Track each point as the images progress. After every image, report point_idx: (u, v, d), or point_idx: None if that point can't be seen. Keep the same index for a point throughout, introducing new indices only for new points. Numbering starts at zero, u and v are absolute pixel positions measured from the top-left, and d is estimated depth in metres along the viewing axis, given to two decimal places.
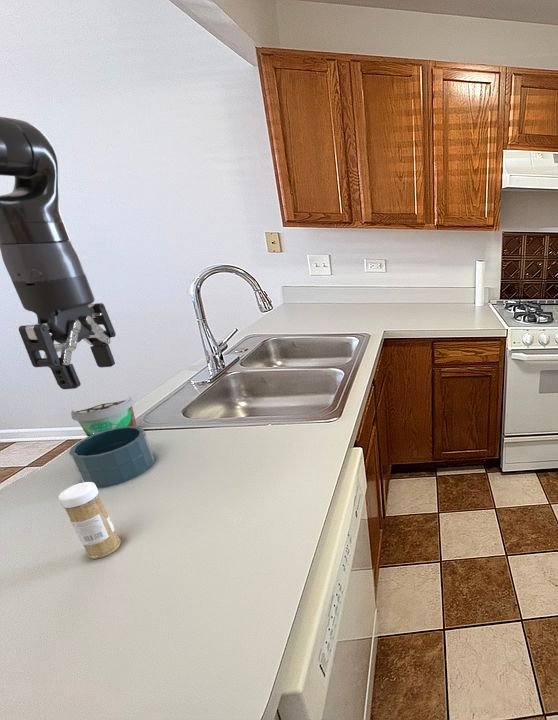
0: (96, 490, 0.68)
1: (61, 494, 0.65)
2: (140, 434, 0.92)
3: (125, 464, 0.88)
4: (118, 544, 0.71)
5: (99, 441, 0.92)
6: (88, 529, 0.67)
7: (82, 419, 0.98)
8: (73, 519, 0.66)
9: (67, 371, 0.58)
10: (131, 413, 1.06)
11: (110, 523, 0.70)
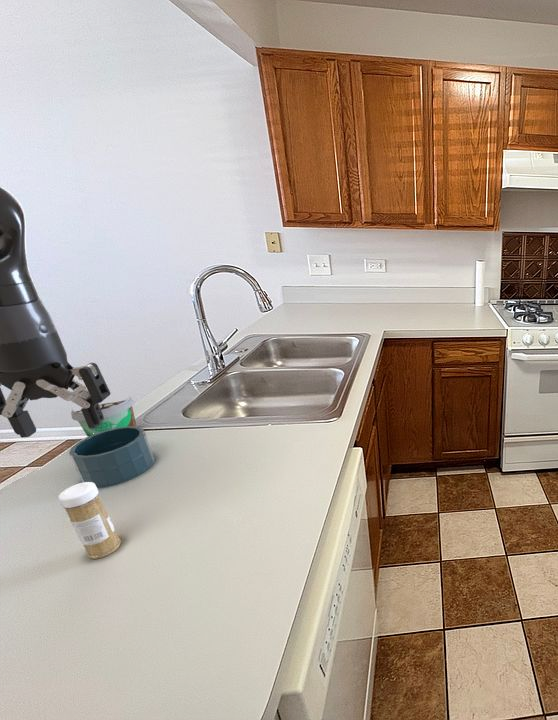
0: (96, 490, 0.68)
1: (61, 494, 0.65)
2: (140, 434, 0.92)
3: (125, 464, 0.88)
4: (118, 544, 0.71)
5: (99, 441, 0.92)
6: (88, 529, 0.67)
7: (82, 419, 0.98)
8: (73, 519, 0.66)
9: None
10: (131, 413, 1.06)
11: (110, 523, 0.70)
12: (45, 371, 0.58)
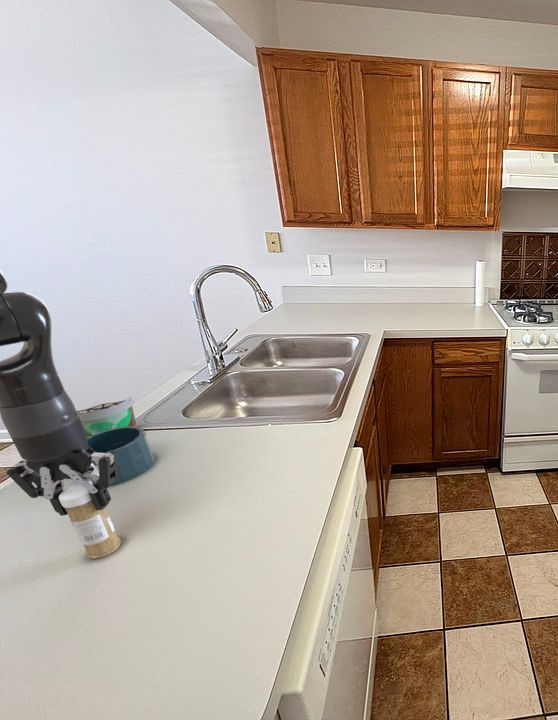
0: None
1: (61, 494, 0.65)
2: (140, 434, 0.92)
3: (125, 464, 0.88)
4: (118, 544, 0.71)
5: (99, 441, 0.92)
6: (88, 529, 0.67)
7: (82, 419, 0.98)
8: (73, 519, 0.66)
9: None
10: (131, 413, 1.06)
11: (110, 523, 0.70)
12: (67, 456, 0.63)
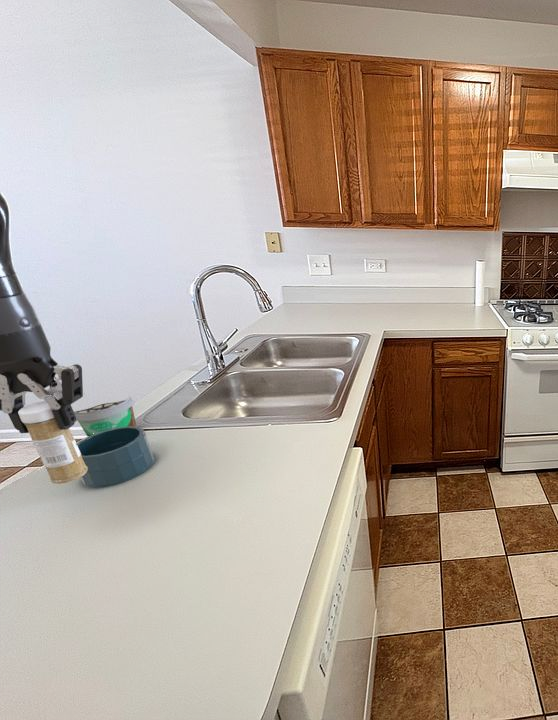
0: None
1: (21, 409, 0.61)
2: (140, 434, 0.92)
3: (125, 464, 0.88)
4: (84, 471, 0.67)
5: (99, 441, 0.92)
6: (50, 450, 0.63)
7: (82, 419, 0.98)
8: (34, 437, 0.61)
9: None
10: (131, 413, 1.06)
11: (76, 447, 0.66)
12: (27, 365, 0.58)
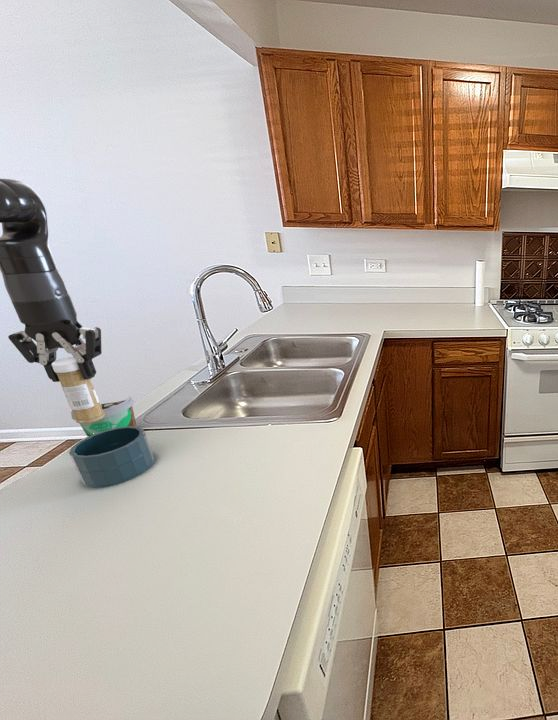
0: None
1: (54, 362, 0.77)
2: (140, 434, 0.92)
3: (125, 464, 0.88)
4: (102, 415, 0.83)
5: (99, 441, 0.92)
6: (76, 395, 0.79)
7: None
8: (64, 384, 0.78)
9: None
10: (131, 413, 1.06)
11: (95, 395, 0.82)
12: (59, 326, 0.75)
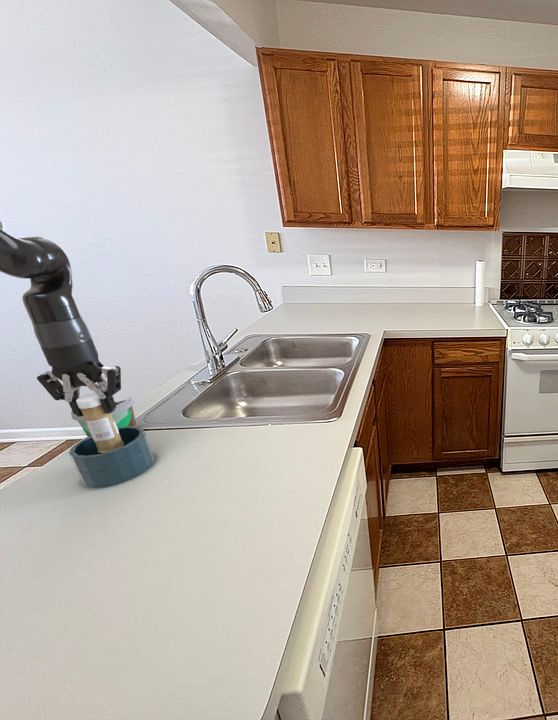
0: None
1: (78, 398, 0.84)
2: (140, 434, 0.92)
3: (125, 464, 0.88)
4: (122, 444, 0.91)
5: None
6: (98, 428, 0.86)
7: (82, 419, 0.98)
8: (87, 419, 0.85)
9: None
10: (131, 413, 1.06)
11: (115, 426, 0.89)
12: (83, 367, 0.82)
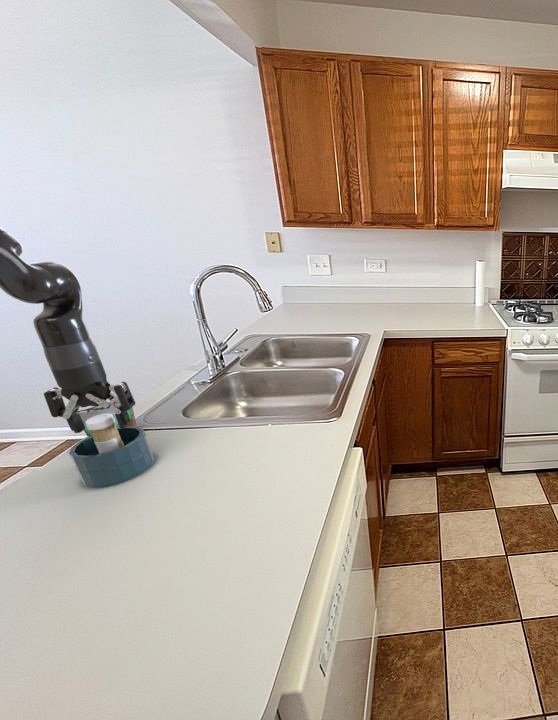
0: (113, 419, 0.89)
1: (87, 420, 0.86)
2: (140, 434, 0.92)
3: (125, 464, 0.88)
4: None
5: None
6: (107, 449, 0.88)
7: (82, 419, 0.98)
8: (96, 440, 0.87)
9: None
10: (131, 413, 1.06)
11: None
12: (91, 387, 0.84)
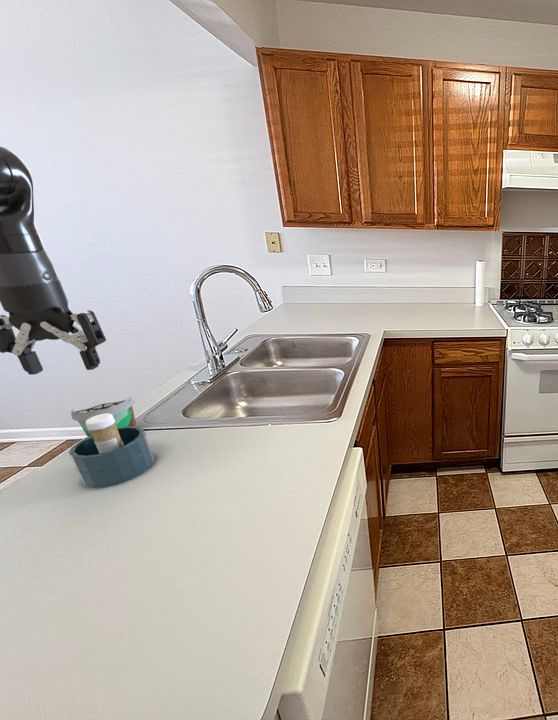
0: (113, 419, 0.89)
1: (87, 420, 0.86)
2: (140, 434, 0.92)
3: (125, 464, 0.88)
4: None
5: None
6: (107, 449, 0.88)
7: (82, 419, 0.98)
8: (96, 440, 0.87)
9: None
10: (131, 413, 1.06)
11: None
12: (48, 315, 0.66)
